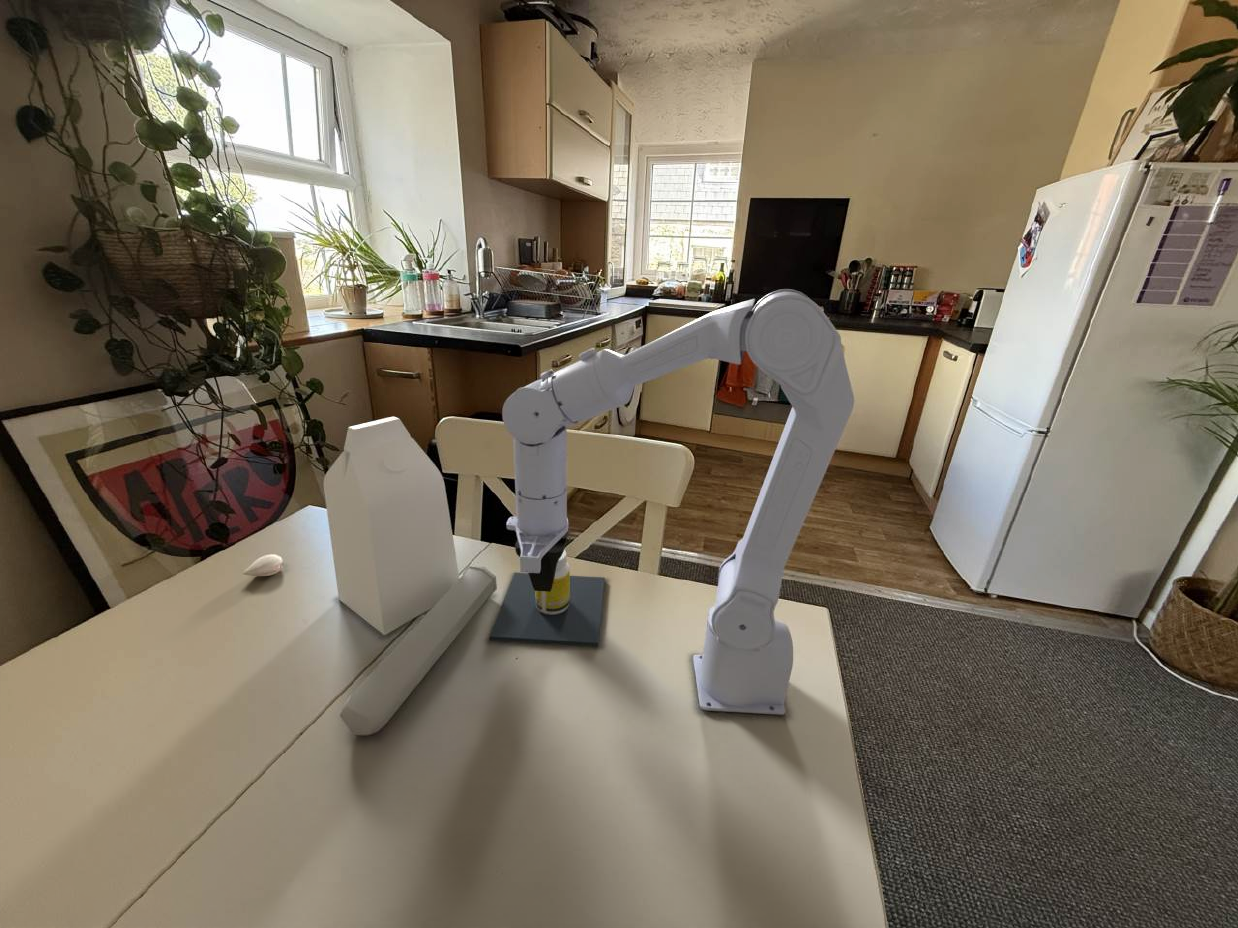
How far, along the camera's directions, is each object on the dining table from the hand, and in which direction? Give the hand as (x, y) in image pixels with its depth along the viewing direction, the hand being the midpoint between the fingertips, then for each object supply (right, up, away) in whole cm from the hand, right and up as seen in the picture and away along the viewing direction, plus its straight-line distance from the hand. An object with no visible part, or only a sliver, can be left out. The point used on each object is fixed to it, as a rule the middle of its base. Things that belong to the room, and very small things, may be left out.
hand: (543, 587), depth 61 cm
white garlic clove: (-44, -2, +14) cm, 46 cm away
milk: (-22, -4, +10) cm, 25 cm away
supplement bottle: (0, -5, +9) cm, 10 cm away
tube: (-14, -9, 0) cm, 16 cm away
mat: (0, -5, +9) cm, 11 cm away
